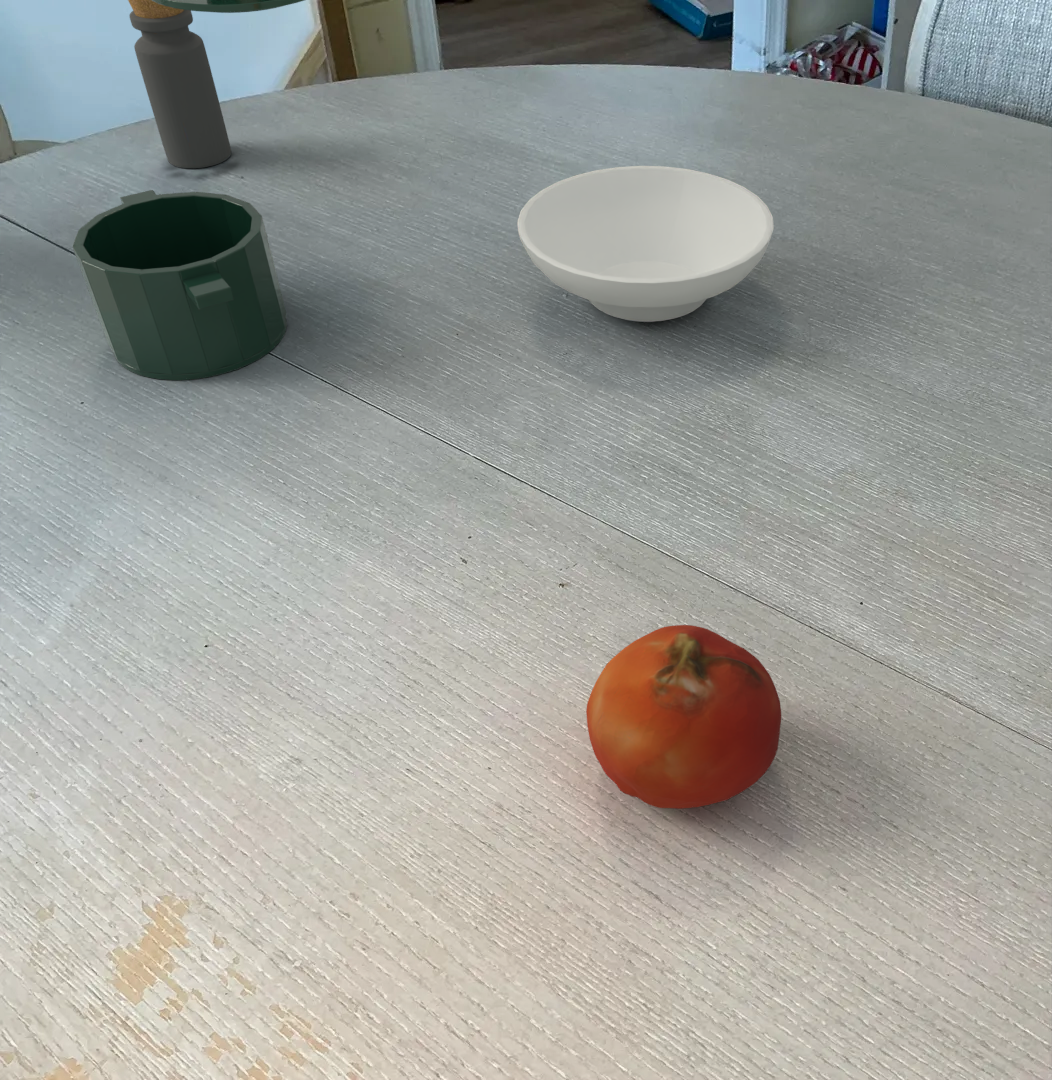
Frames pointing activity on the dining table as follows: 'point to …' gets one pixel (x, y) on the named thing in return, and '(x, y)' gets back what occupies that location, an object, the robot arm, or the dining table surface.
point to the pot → (182, 283)
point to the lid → (226, 5)
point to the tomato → (684, 718)
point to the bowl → (645, 238)
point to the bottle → (179, 86)
